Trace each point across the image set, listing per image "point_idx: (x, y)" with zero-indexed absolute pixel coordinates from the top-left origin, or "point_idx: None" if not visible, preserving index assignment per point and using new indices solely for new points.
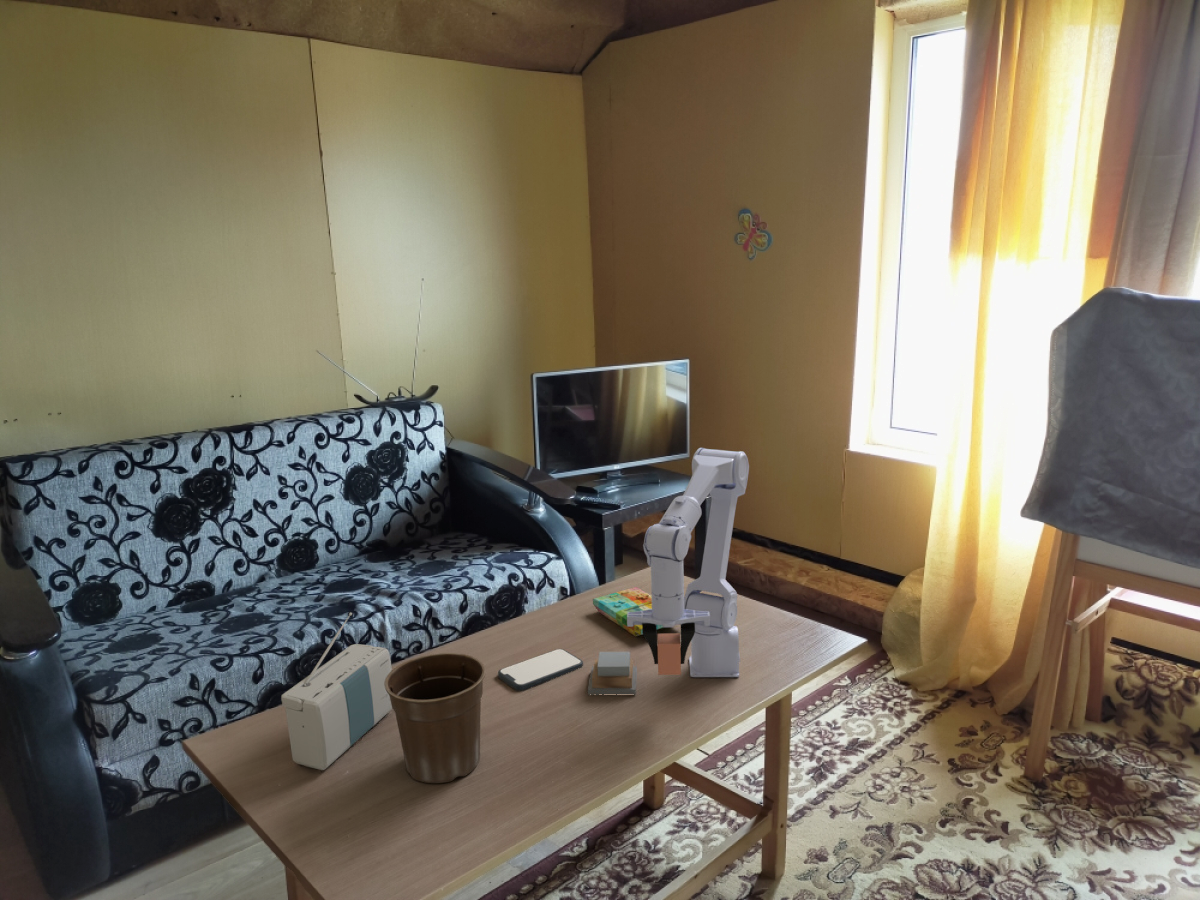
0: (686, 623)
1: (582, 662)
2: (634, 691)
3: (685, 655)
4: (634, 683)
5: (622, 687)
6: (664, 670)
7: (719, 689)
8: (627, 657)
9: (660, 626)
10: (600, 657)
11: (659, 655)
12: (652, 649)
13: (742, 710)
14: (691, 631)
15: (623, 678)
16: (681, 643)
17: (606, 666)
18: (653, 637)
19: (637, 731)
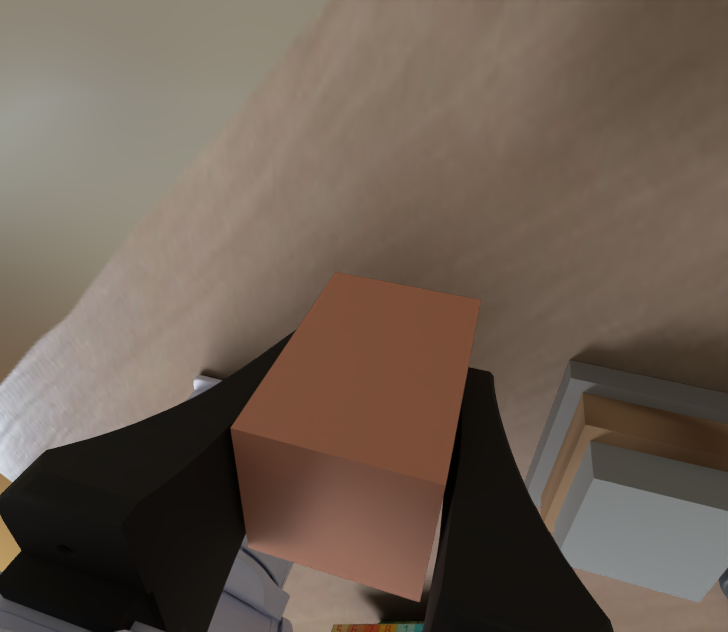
0: (72, 618)
1: (726, 581)
2: (574, 373)
3: (254, 360)
4: (562, 415)
5: (625, 402)
6: (433, 308)
7: (254, 328)
8: (579, 534)
9: (406, 629)
10: (713, 571)
11: (448, 392)
12: (501, 457)
13: (172, 187)
14: (13, 494)
15: (624, 432)
16: (223, 430)
17: (714, 509)
18: (481, 562)
19: (651, 69)
